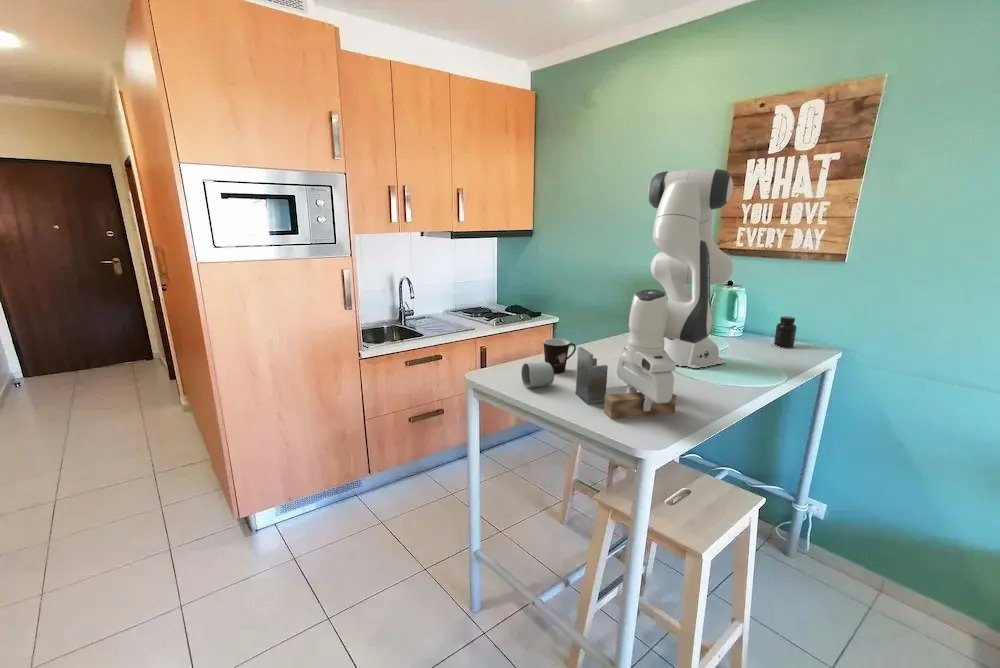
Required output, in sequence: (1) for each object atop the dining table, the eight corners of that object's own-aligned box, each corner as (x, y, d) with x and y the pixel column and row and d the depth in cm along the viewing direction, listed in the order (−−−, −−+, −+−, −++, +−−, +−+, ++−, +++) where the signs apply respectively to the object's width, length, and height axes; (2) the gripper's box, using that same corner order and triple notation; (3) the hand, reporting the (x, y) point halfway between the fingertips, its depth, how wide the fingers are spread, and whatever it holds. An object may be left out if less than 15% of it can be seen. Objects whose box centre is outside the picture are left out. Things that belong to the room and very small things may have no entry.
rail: (665, 407, 116) (667, 389, 115) (674, 413, 112) (676, 395, 111) (603, 412, 112) (605, 394, 111) (610, 419, 109) (612, 400, 107)
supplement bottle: (787, 344, 178) (792, 315, 175) (796, 348, 171) (802, 319, 168) (770, 343, 179) (774, 315, 176) (778, 348, 172) (783, 319, 169)
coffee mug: (544, 375, 140) (545, 345, 138) (540, 366, 148) (541, 338, 146) (579, 374, 140) (581, 345, 138) (574, 366, 149) (575, 338, 146)
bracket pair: (643, 387, 130) (647, 342, 126) (658, 397, 122) (663, 350, 119) (575, 393, 125) (577, 347, 121) (587, 404, 117) (590, 355, 114)
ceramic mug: (555, 388, 129) (556, 363, 127) (530, 391, 126) (530, 366, 124) (540, 377, 138) (540, 354, 137) (516, 380, 136) (516, 357, 134)
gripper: (613, 344, 117) (609, 392, 121) (656, 368, 98) (651, 423, 102) (633, 343, 119) (629, 390, 122) (680, 366, 100) (674, 421, 103)
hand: (639, 405), depth 112 cm, fingers closed on rail, 4 cm apart
